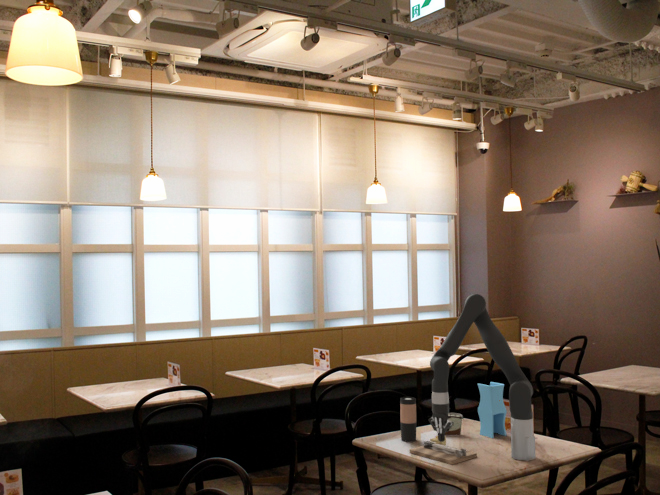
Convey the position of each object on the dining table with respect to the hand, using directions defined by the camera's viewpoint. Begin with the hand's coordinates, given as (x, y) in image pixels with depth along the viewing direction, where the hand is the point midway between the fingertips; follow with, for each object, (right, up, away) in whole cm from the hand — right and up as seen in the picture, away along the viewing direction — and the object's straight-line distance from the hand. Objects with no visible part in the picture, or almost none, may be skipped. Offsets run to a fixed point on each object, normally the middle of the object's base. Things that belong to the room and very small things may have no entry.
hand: (441, 441), depth 290 cm
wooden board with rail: (+1, -6, -1) cm, 6 cm away
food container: (+11, -8, +37) cm, 39 cm away
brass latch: (0, -4, +8) cm, 9 cm away
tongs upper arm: (0, -3, 0) cm, 3 cm away
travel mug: (-11, -7, +26) cm, 29 cm away
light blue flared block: (+31, -7, +34) cm, 47 cm away
